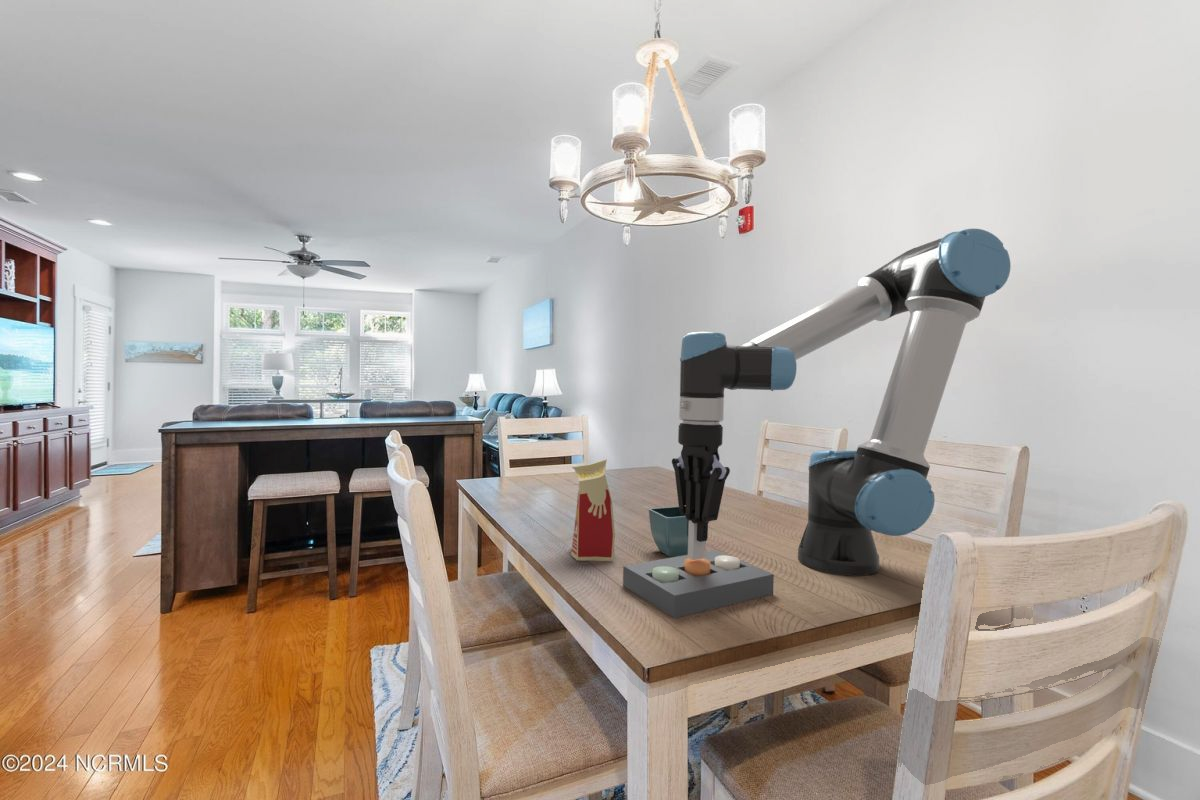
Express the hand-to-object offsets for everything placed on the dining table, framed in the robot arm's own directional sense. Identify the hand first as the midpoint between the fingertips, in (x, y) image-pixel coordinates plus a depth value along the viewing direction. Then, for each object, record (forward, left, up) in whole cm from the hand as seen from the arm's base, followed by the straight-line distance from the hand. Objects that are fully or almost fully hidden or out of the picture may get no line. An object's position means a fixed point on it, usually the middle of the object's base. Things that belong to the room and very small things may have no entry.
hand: (696, 557), depth 94 cm
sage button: (+7, 0, -4) cm, 8 cm away
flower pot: (-9, -18, -6) cm, 21 cm away
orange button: (0, 0, -3) cm, 3 cm away
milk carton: (+7, -25, -6) cm, 27 cm away
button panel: (0, 0, -6) cm, 6 cm away
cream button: (-7, 0, -4) cm, 8 cm away
